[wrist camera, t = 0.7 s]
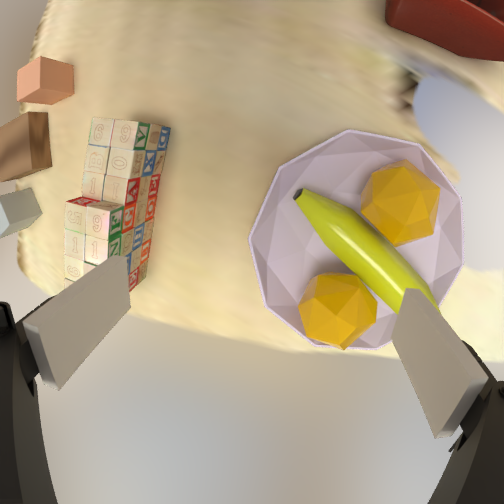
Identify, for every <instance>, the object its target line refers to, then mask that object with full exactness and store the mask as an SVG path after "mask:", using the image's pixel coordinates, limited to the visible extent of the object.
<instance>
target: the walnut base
mask: <svg viewBox="0 0 504 504" xmlns="http://www.w3.org/2000/svg"><path fill="white" fill-rule="evenodd" d="M49 167H52V161H51V152H50V141H49V127H48V113H42V112H26V113H25V114H23V115H21V116H19V117H17V118H16V119H14V120H12V121H11V122H9V123H7V124H5V125H3V126H2V127H0V182H5V181H9V180H14V179H19V178H22V177H24V176H27V175H30V174H33V173H35V172H38V171H41V170H44V169H47V168H49Z"/></svg>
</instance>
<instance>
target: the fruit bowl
mask: <svg viewBox="0 0 504 504" xmlns="http://www.w3.org/2000/svg"><path fill="white" fill-rule="evenodd" d="M248 242H249V246H250V250H251V254H252V258H253V262H254V266H255V270H256V274H257V278H258V283H259V287H260V291H261V295H262V299H263V303H264V307H265V308H267V309H268V310H269V311H270V312H271V313H273V314H274V315H275V316H276V317H278V318H279V319H280V320H281V321H283V322H284V323H285V324H286V325H288V326H289V327H290V328H291V329H293V330H294V331H295V332H297V333H298V334H299V335H300V336H302V337H303V338H304V339H305V340H307V341H308V342H309V343H310V344H312V345H313V346H315V347H328V348H339V349H342V350H345V349H364V350H377V349H379V348H381V347H383V346H385V345H387V344H389V343H391V342H392V340H391V335H392V332H393V329H394V326H395V322H396V319H397V316H398V313H399V310H400V306H401V303H402V300H403V296H404V293H405V289H406V288H414V289H420V290H421V291H422V292H423V294H424V295H425V296H426V297H427V298H428V300H429V301H430V302H431V303H432V304H433V305H434V307H435V308H436V309H437V310H438V312H439V313H440V310H439V307H440V305H441V303H442V302H443V300H444V298H445V297H446V295H447V293H448V292H449V290H450V288H451V287H452V285H453V283H454V281H455V279H456V278H457V276H458V274H459V272H460V270H461V269H462V267H463V265H464V227H463V209H462V198H461V196H460V195H459V193H458V192H457V190H456V189H455V188H454V186H453V185H452V184H451V182H450V181H449V180H448V178H447V177H446V176H445V174H444V173H443V172H442V171H441V169H440V168H439V167H438V165H437V164H436V163H435V162H434V161H433V159H432V158H431V157H430V156H429V154H428V153H427V152H426V151H425V150H424V148H423V147H422V146H421V145H420V144H418V143H414V142H410V141H406V140H401V139H397V138H392V137H387V136H383V135H378V134H373V133H367V132H362V131H356V130H350V129H347V130H345V131H343V132H342V133H340V134H338V135H336V136H334V137H332V138H330V139H328V140H327V141H325V142H323V143H321V144H319V145H317V146H316V147H314V148H312V149H310V150H308V151H306V152H305V153H303V154H301V155H299V156H297V157H296V158H294V159H292V160H290V161H289V162H287V163H285V164H283V165H282V166H280V167H279V168H278V170H277V172H276V175H275V177H274V179H273V182H272V184H271V186H270V188H269V191H268V193H267V195H266V198H265V200H264V202H263V204H262V207H261V209H260V211H259V214H258V216H257V218H256V221H255V223H254V225H253V228H252V230H251V232H250V234H249V237H248ZM440 314H441V313H440Z"/></svg>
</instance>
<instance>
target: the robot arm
mask: <svg viewBox="0 0 504 504" xmlns="http://www.w3.org/2000/svg"><path fill="white" fill-rule="evenodd" d="M130 308H131V305H130V295H129V284H128V271H127V257H124V256H117V255H112V256H111V257H109V258H108V259H106V260H105V261H104V262H102V263H101V264H99V265H98V266H96V267H95V268H93V269H92V270H91V271H89V272H88V273H86V274H85V275H84V276H82V277H81V278H79V279H78V280H77V281H75V282H74V283H72V284H71V285H70V286H68V287H67V288H66V289H64V290H63V291H61V292H60V293H59V294H57V295H56V296H53V297H51V298H48V299H47V300H46V301H44V302H43V303H41V304H40V306H38V307H36V308H35V309H34V310H32V311H31V312H30V313H28V314H27V315H26V316H25V317H23V318H22V319H21V320H19V321H18V322H17V323H16V324H15V322H14V318H13V314H12V311H11V307H10V305H9V304H8V303H6V302H0V504H58V503H57V499H56V496H55V492H54V489H53V485H52V481H51V477H50V472H49V468H48V463H47V458H46V453H45V447H44V442H43V436H42V429H41V421H40V413H39V404H38V393H37V384H36V381H35V379H34V377H35V376H36V375H37V374H38V373H40V375H41V378H42V380H43V383H44V385H47V386H49V387H51V388H53V389H56V390H58V391H59V390H60V389H61V388H62V387H63V385H64V384H65V383H66V382H67V381H68V379H69V378H70V377H71V376H72V374H73V373H74V372H75V371H76V370H77V369H78V367H79V366H80V365H81V364H82V363H83V362H84V360H85V359H86V358H87V357H88V356H89V354H90V353H91V352H92V351H93V350H94V349H95V347H96V346H97V345H98V344H99V343H100V342H101V341H102V339H103V338H104V337H105V336H106V335H107V334H108V333H109V331H110V330H111V329H112V328H113V327H114V326H115V325H116V324H117V322H118V321H119V320H120V319H121V318H122V317H123V316H124V315H125V313H126V312H127V311H128V310H129V309H130ZM391 340H392V342H393V344H394V346H395V348H396V350H397V352H398V354H399V357H400V359H401V361H402V363H403V365H404V367H405V369H406V372H407V374H408V376H409V378H410V380H411V383H412V385H413V387H414V389H415V392H416V394H417V396H418V399H419V401H420V403H421V406H422V408H423V410H424V413H425V415H426V417H427V420H428V423H429V425H430V427H431V430H432V433H433V435H434V438H435V439H436V438H443V437H448V436H452V435H453V433H454V432H455V430H456V429H457V428H458V426H459V425H460V426H461V428H462V430H463V433H462V434H461V435H460V437H459V438H458V439H457V441H456V442H455V443H454V444H453V446H452V447H451V448H450V450H449V452H451V451H452V450H453V449H454V450H453V453H452V455H451V457H450V460H449V462H448V464H447V466H446V469H445V471H444V473H443V475H442V477H441V479H440V481H439V483H438V485H437V487H436V489H435V491H434V493H433V495H432V497H431V499H430V500H429V502H428V504H504V381H498V382H497V380H496V379H495V378H494V376H493V375H492V374H491V372H490V371H489V369H488V368H487V367H486V365H485V364H484V363H482V360H481V358H480V357H479V356H478V354H477V353H476V352H475V351H474V349H473V348H472V347H471V346H470V345H468V344H467V343H466V342H465V341H463V340H461V339H460V338H459V337H458V335H457V334H456V333H455V331H454V330H453V329H452V328H451V326H450V325H449V324H448V323H447V321H446V320H445V319H444V318H443V316H442V315H441V314H440V313H439V312H438V310H437V309H436V308H435V307H434V305H433V304H432V303H431V302H430V301H429V300H428V298H427V297H426V296H425V295H424V294H423V292H422V291H421V290H420V289H414V288H406V289H405V293H404V296H403V300H402V303H401V306H400V310H399V313H398V316H397V319H396V322H395V326H394V329H393V332H392V335H391Z"/></svg>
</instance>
